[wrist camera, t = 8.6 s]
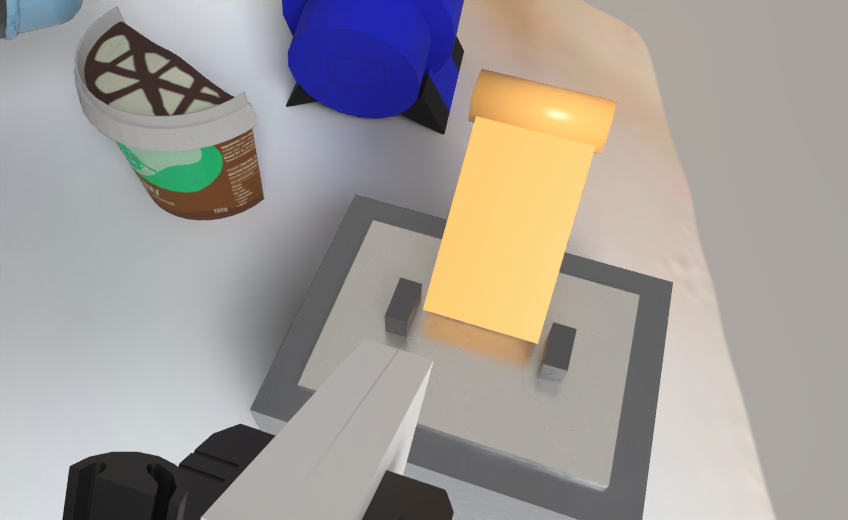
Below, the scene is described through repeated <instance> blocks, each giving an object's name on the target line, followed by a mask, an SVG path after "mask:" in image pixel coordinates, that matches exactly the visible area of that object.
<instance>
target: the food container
mask: <svg viewBox="0 0 848 520" xmlns="http://www.w3.org/2000/svg"><path fill="white" fill-rule="evenodd" d="M75 82H76V86H77V91H78V95H79V99H80V103H81V106H82V109H83V112H84V114H85V115H86V117H87V118H88V120H89V121H90V123H91V124H92V125H94V126H95V127H96V128H97V129H98V130H99V131H100V132H101V133H103V134H104V135H106V136H108V137H109V138H111V139H113V140H115V141H116V142H117V144H118V145H119V147H120V149H121V150H122V152H123V153H124V155H125V156H126V158H127V160H128V161H129V163H130V164H131V166H132V167H133V169H134V171H135V172H136V174H137V175H138V177H139V178H140V180H141V182H142V183H143V185H144V186H145V188H146V189H147V191H148V193H149V194H150V196H151V197H152V199H153V201H154V202H155V203H156V204H157V205H158V206H159V207H161V208H162V209H164V210H165V211H167V212H168V213H171V214H173V215H175V216H178V217H182V218H186V219H192V220H214V219H221V218H225V217H229V216H233V215H236V214H238V213H241V212H243V211H245V210H247V209H249V208H251V207H253V206H255V205H256V204H258V203H259V202H260V201H262V200H263V199H264V196H263V190H262V184H261V178H260V172H259V166H258V160H257V154H256V148H255V142H254V136H253V130H252V128H253V127H255V126H256V125H258V122H257V119H256V116H255V114H254V111H253V108H252V106H251V104H250V103H249V102H248V101H247V97H246V94H245V92H243V93H241V94H240V95H238V96H236V97H233V96H231V95H229V94H228V93H226V92H224V91H223V90H221V89H220V88H219V87H217V86H216V85H214V84H213V83H212V82H210V81H209V80H208V79H206V78H205V77H204V76H202V75H201V74H200V73H199V72H198V71H196V70H195V69H194V68H193V67H192V66H190V65H189V64H188V63H186V62H185V61H184V60H183V59H181V58H180V57H179V56H177V55H175V54H174V53H172V52H170V51H168V50H166V49H164V48H162V47H160V46H158V45H157V44H155V43H153V42H151V41H150V40H148V39H147V38H146V37H144V36H143V35H141V34H140V33H138V32H137V31H135V30H134V29H132V28H131V27H129V26H128V25H126V24H125V22H124V20H123V17H122V15H121V13H120V11H119V9H118V7H115V8H114V9H112V10H110V11H109V12H107V13H106V14H104V15H103V16H102V17H101V18H100V19H98V20H97V21H96V22H95V23H94V24H93V25H92V26H91V27H90V28H89V29H88V30H87V32H86V33H85V35H84V37H83V38H82V40H81V41H80V44H79V46H78V49H77V52H76V59H75Z"/></svg>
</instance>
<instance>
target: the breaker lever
mask: <svg viewBox="0 0 848 520" xmlns="http://www.w3.org/2000/svg"><path fill="white" fill-rule="evenodd" d="M615 107H616V101H613V100H609V99H605V98H601V97H597V96H593V95H588V94H584V93H580V92H576V91H572V90H568V89H563V88H559V87H555V86H551V85H547V84H543V83H538V82H534V81H530V80H526V79H522V78H518V77H513V76H509V75H505V74H501V73H497V72H493V71H489V70H484V69H482V70H481V72H480V74H479V76H478V79H477V82H476V85H475V88H474V92H473V96H472V100H471V105H470V111H469V121H470V122H474V125H473V129H472V133H471V136H470V140H469V144H468V147H467V151H466V154H465V158H464V162H463V165H462V169H461V173H460V176H459V180H458V184H457V187H456V191H455V194H454V198H453V202H452V205H451V209H450V213H449V216H448V220H447V224H446V227H445V231H444V234H443V238H442V242H441V245H440V249H439V253H438V256H437V260H436V264H435V267H434V271H433V274H432V278H431V282H430V285H429V289H428V293H427V296H426V300H425V304H424V307H423V310H426V311H429V312H433V313H436V314H439V315H443V316H446V317H449V318H453V319H456V320H459V321H463V322H466V323H469V324H473V325H476V326H479V327H483V328H486V329H489V330H493V331H496V332H500V333H503V334H506V335H510V336H513V337H516V338H520V339H523V340H526V341H530V342H533V343H536V344H538V341H539V338H540V334H541V331H542V328H543V324H544V321H545V317H546V314H547V311H548V307H549V304H550V300H551V297H552V293H553V290H554V287H555V283H556V280H557V276H558V273H559V270H560V266H561V263H562V259H563V256H564V252H565V249H566V246H567V242H568V239H569V235H570V232H571V228H572V225H573V222H574V218H575V215H576V211H577V208H578V205H579V201H580V198H581V194H582V191H583V187H584V184H585V181H586V177H587V174H588V170H589V167H590V164H591V160H592V157H593V153H597V154H601V152H602V149H603V147H604V144H605V141H606V138H607V135H608V132H609V129H610V125H611V122H612V118H613V115H614V111H615Z"/></svg>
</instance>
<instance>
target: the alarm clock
mask: <svg viewBox="0 0 848 520" xmlns="http://www.w3.org/2000/svg"><path fill="white" fill-rule="evenodd" d="M463 2H464V0H282V7H283V16H284V18H285V20H286V22H287V24H288V27H289V29H290V31H291V33H292V35H293V39H292V42H291V45H290V48H289V51H288V65H289V68H290V70H291V72H292V74H293V77H294V79H295V81H296V84H295V86H294V89H293V91H292V93H291V96H290V98H289V100H288V103H287V105H286V106H287V107H288V106H293V105H299V104H305V103H310V102H316V101H319V102H320V103H322V104H324V105H326V106H328V107H330V108H332V109H335V110H337V111H339V112H341V113H345V114H349V115H353V116H357V117H365V118H384V117H390V116H395V115H397V114H402V115H404V116H406V117H408V118H410V119H412V120H414V121H416V122H418V123H421V124H423V125H425V126H427V127H429V128H431V129H433V130H435V131H437V132H439V133H441V134H445V129H446V125H447V121H448V117H449V112H450V108H451V104H452V100H453V95H454V91H455V87H456V83H457V78H458V74H459V70H460V66H461V61H462V57H463V53H464V50H463V48H462V46H461V44H460V42H459V40H458V38H457V36H456V34H457V29H458V25H459V20H460V16H461V11H462V7H463Z"/></svg>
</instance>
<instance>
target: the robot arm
mask: <svg viewBox="0 0 848 520" xmlns="http://www.w3.org/2000/svg"><path fill="white" fill-rule="evenodd" d="M82 2H83V0H0V39H2V38H5V39H6V40H11V39H12V38H16V37H17V35H18V34H19V33H24V32H28V31H33V30H37V29H42V28H46V27H51V26H55V25H60V24H63V23H65V22H67V21H69V20H71V19H72V18H73V17H74V16H75V15H76V13H77V12H78V11H79V9H80V8H81V5H82ZM433 361H434V360H431V359H428V358H425V357H421V356H418V355H415V354H412V353H408V352H405V351H402V350H399V349H395V348H392V347H389V346H385V345H382V344H379V343H376V342H372V341H369V340H366V339H364V340H363V341H362V342H361V343H360V344H359V345H358V346H357V347H356V349H355V350H354V351H353V352H352V353H351V354H350V355H349V356H348V357H347V358H346V359H345V361H344V362H343V363H342V364H341V365H340V366H339V367H338V368H337V369H336V370H335V372H334V373H333V374H332V375H331V376H330V377H329V378H328V379H327V380H326V381H325V382H324V384H323V385H322V386H321V387H320V388H319V389H318V390H317V391H316V392H315V393H314V394H313V396H312V397H311V398H310V399H309V400H308V401H307V402H306V403H305V404H304V405H303V407H302V408H301V409H300V410H299V411H298V412H297V413H296V414H295V415H294V416H293V417H292V419H291V420H290V421H289V422H288V423H287V424H286V425H285V426H284V427H283V428H282V429H281V431H280V432H279V433H278V434H277V435H273V434H270V433H267V432H264V431H261V430H258V429H255V428H252V427H249V426H246V425H243V424H238V425H235V426H233V427H230V428H227V429H225V430H222V431H219V432H216V433H214V434H212V435H211V436H210V437H209V438H208V439H207V440H205V441H204V442H203V443H202V444H201V445H200V446H199V447H198V448H196V449H195V451H194V453H191V454H190V455H188V456H187V457H186V458H185V459H184V460H183V461H182V462H181V463H180V464H179V466H178V467H177V466H176V465H175V464H173V463H171V462H169V461H167V460H165V459H163V458H161V457H159V456H155V455H150V454H145V453H141V452H110V453H105V454H100V455H95V456H90V457H88V458H86V459H84V460H82V461H79V462H77V463H75V464H73V465H71V466H70V468H69V475H68V483H67V490H66V498H65V505H64V512H63V520H452V518H453V514H454V511H453V508H452V505H451V503H450V500H449V497H448V494H447V491H446V490H445V489H442V488H439V487H436V486H433V485H430V484H427V483H424V482H421V481H418V480H415V479H412V478H409V477H406V476H403V473H404V470H405V466H406V462H407V458H408V455H409V451H410V447H411V443H412V440H413V436H414V432H415V428H416V425H417V421H418V417H419V413H420V410H421V406H422V402H423V398H424V395H425V391H426V387H427V383H428V380H429V376H430V372H431V368H432V365H433Z"/></svg>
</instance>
